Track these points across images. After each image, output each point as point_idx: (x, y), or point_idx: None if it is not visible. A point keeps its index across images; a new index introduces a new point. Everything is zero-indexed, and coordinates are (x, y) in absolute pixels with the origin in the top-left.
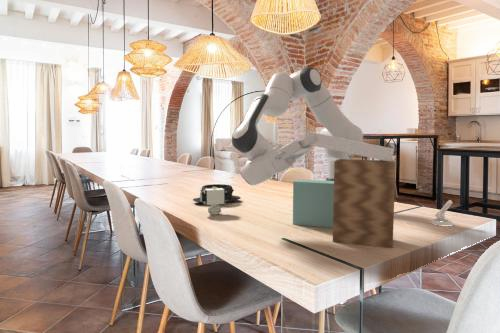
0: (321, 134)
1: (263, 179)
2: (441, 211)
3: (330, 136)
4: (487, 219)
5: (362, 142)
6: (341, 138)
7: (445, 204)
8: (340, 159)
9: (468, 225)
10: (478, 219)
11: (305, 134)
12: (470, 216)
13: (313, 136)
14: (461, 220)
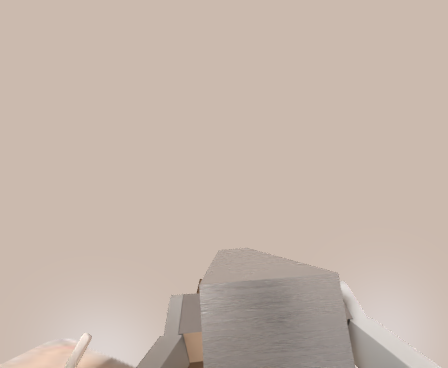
0: (250, 263)
1: None
2: (76, 364)
3: (274, 256)
4: (55, 341)
5: (222, 253)
6: (242, 255)
7: (84, 345)
8: (197, 363)
9: (89, 359)
10: (51, 349)
11: (343, 308)
12: (26, 355)
13: (343, 286)
14: (51, 365)
